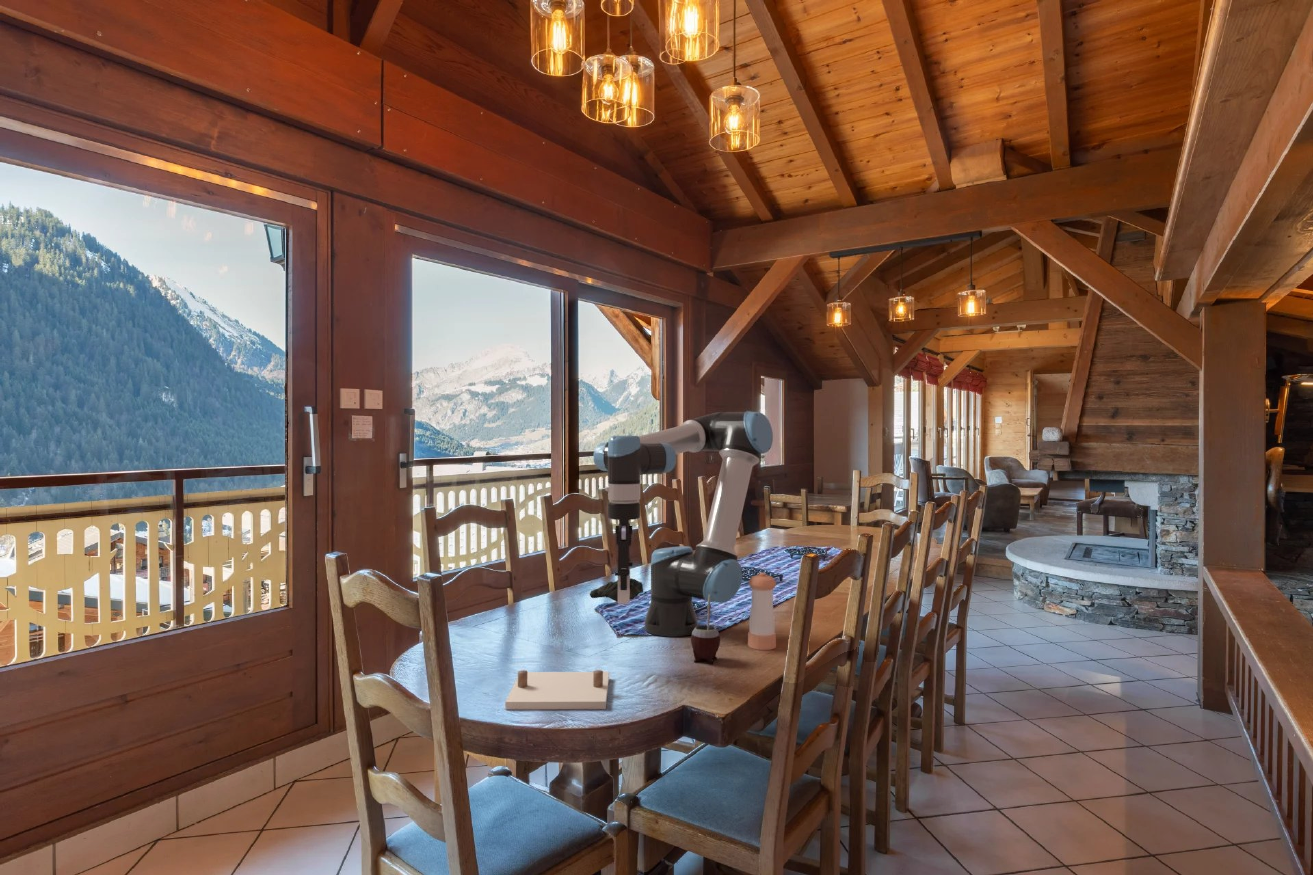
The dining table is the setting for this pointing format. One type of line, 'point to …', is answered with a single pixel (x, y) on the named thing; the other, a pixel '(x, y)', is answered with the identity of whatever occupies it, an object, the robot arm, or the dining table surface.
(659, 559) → the robot arm
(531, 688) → the board
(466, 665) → the dining table surface
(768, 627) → the pepper shaker
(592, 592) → the stone
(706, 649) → the mate gourd
